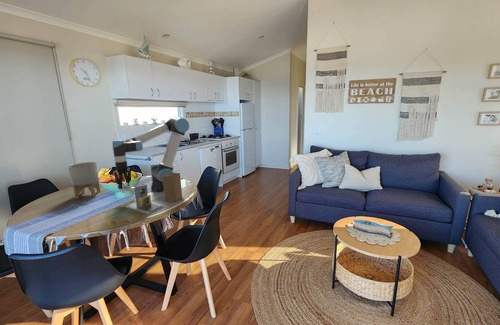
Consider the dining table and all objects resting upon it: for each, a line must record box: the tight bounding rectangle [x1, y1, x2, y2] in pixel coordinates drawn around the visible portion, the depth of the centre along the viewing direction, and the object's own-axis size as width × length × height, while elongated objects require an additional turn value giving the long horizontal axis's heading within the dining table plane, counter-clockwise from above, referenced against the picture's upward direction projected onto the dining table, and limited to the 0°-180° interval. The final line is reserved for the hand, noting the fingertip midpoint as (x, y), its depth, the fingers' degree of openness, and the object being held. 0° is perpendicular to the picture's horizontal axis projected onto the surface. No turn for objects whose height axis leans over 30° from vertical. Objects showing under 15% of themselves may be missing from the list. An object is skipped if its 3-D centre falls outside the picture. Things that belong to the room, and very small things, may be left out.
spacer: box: [139, 193, 152, 208], centre depth 171 cm, size 2×8×8 cm, turn 150°
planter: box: [67, 161, 101, 200], centre depth 197 cm, size 19×19×26 cm
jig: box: [125, 183, 165, 215], centre depth 171 cm, size 24×14×16 cm, turn 60°
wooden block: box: [162, 172, 183, 202], centre depth 185 cm, size 10×10×20 cm
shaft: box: [117, 182, 143, 193], centre depth 176 cm, size 24×5×5 cm, turn 60°
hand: (125, 191), depth 181 cm, fingers closed on shaft, 3 cm apart
